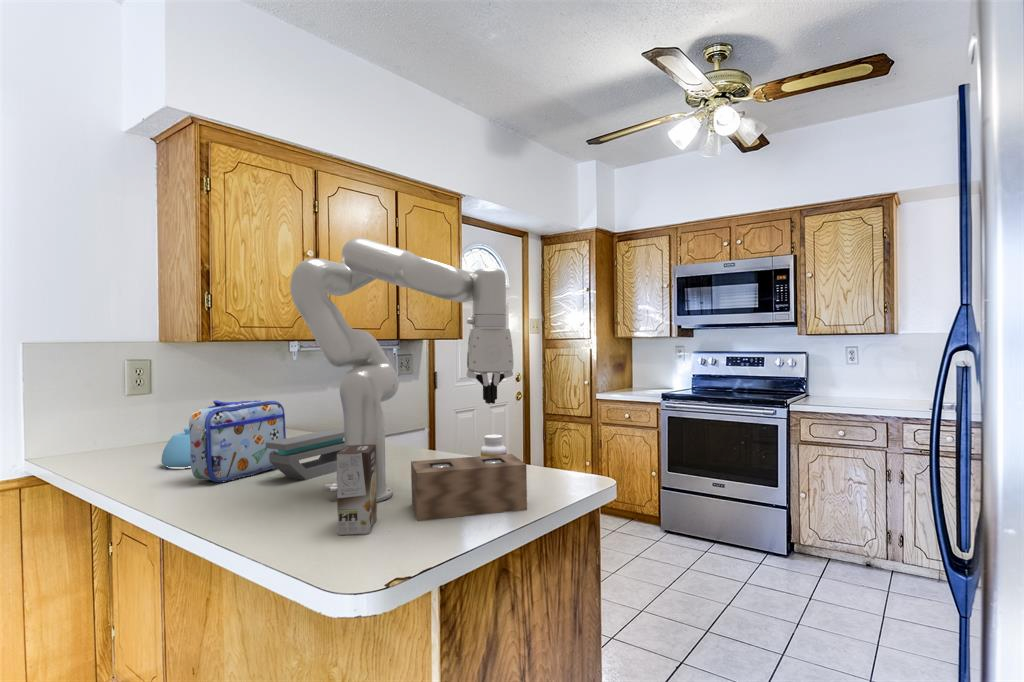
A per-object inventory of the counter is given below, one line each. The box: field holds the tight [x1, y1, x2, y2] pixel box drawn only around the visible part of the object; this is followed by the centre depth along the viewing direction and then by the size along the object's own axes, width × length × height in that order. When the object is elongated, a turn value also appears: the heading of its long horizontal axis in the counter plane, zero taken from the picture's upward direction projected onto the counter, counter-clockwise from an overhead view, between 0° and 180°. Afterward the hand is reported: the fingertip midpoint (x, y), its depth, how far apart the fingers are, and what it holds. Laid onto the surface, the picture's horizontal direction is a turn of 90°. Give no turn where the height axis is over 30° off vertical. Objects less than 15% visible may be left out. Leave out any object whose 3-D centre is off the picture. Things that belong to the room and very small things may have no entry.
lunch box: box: [188, 400, 287, 483], centre depth 160 cm, size 28×10×22 cm, turn 154°
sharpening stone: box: [266, 428, 344, 481], centre depth 161 cm, size 25×8×11 cm, turn 152°
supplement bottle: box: [480, 434, 507, 456], centre depth 145 cm, size 7×7×13 cm
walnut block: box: [410, 453, 528, 522], centre depth 126 cm, size 24×12×10 cm, turn 106°
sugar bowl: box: [161, 427, 191, 467], centre depth 175 cm, size 15×15×12 cm
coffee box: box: [336, 444, 378, 536], centre depth 114 cm, size 9×6×16 cm
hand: (490, 402), depth 129 cm, fingers closed
